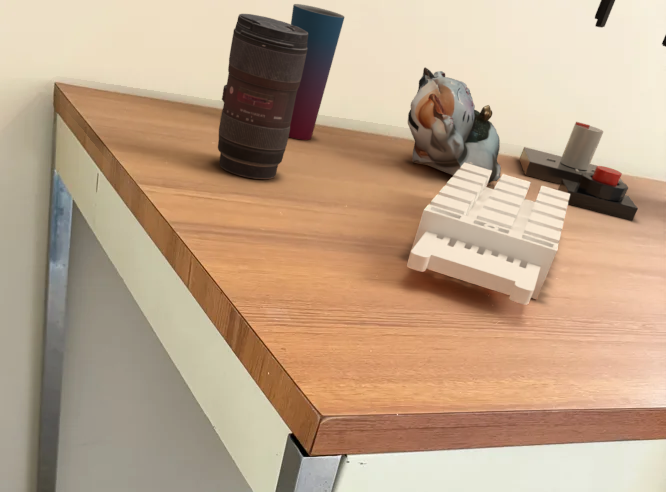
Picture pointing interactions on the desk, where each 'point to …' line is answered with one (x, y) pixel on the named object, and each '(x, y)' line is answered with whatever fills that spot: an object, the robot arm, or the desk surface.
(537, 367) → the desk surface
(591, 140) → the hob knob
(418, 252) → the organizer
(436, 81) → the lucky cat figurine
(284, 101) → the camera lens
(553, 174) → the hob console
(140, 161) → the desk surface
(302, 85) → the cup
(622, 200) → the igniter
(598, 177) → the button
